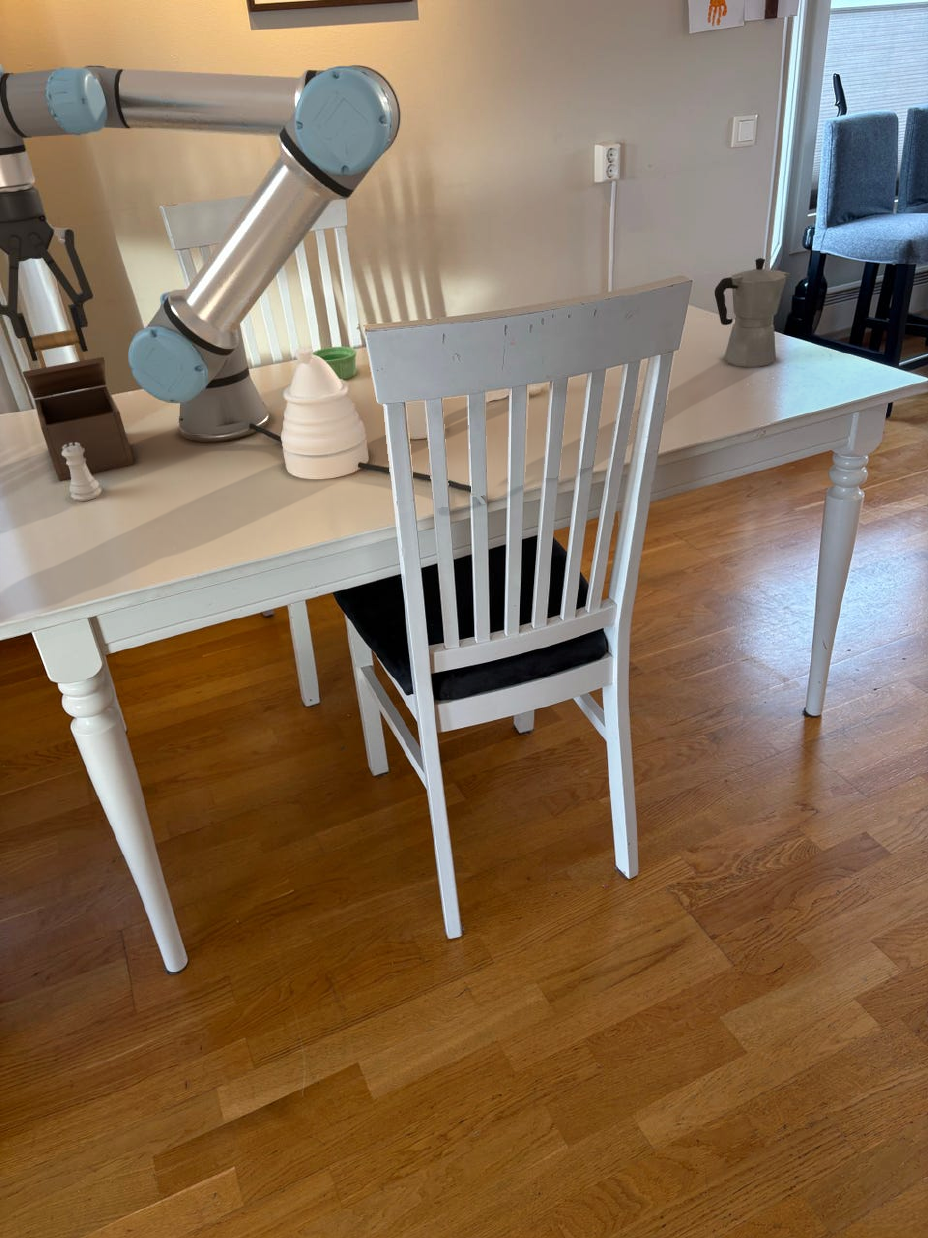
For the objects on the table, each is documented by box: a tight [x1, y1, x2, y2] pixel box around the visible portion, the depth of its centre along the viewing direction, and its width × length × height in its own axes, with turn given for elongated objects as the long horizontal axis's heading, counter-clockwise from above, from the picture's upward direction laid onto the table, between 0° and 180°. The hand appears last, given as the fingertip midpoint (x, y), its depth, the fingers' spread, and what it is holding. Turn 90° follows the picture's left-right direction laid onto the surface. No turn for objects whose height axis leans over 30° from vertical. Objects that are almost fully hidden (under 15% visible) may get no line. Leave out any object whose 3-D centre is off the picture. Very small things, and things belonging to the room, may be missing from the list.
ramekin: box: [313, 346, 357, 381], centre depth 176 cm, size 9×9×4 cm
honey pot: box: [280, 347, 370, 480], centre depth 135 cm, size 13×13×18 cm
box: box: [33, 384, 135, 482], centre depth 147 cm, size 16×12×9 cm
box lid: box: [22, 328, 107, 400], centre depth 142 cm, size 16×12×6 cm
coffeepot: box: [714, 257, 791, 368], centre depth 163 cm, size 15×9×18 cm, turn 111°
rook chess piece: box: [61, 442, 103, 502], centre depth 133 cm, size 4×4×8 cm
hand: (59, 353), depth 137 cm, fingers closed on box lid, 7 cm apart
